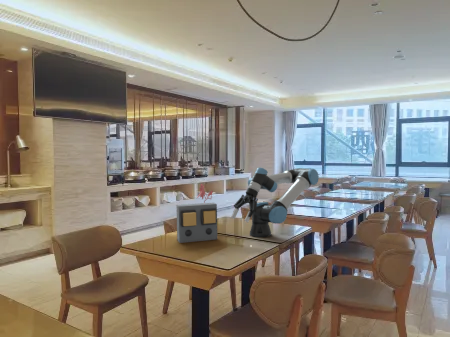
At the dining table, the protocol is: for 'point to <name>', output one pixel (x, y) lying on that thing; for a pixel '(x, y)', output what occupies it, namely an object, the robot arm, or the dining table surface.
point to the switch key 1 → (189, 219)
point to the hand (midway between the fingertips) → (239, 219)
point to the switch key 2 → (209, 216)
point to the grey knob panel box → (200, 229)
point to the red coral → (202, 193)
